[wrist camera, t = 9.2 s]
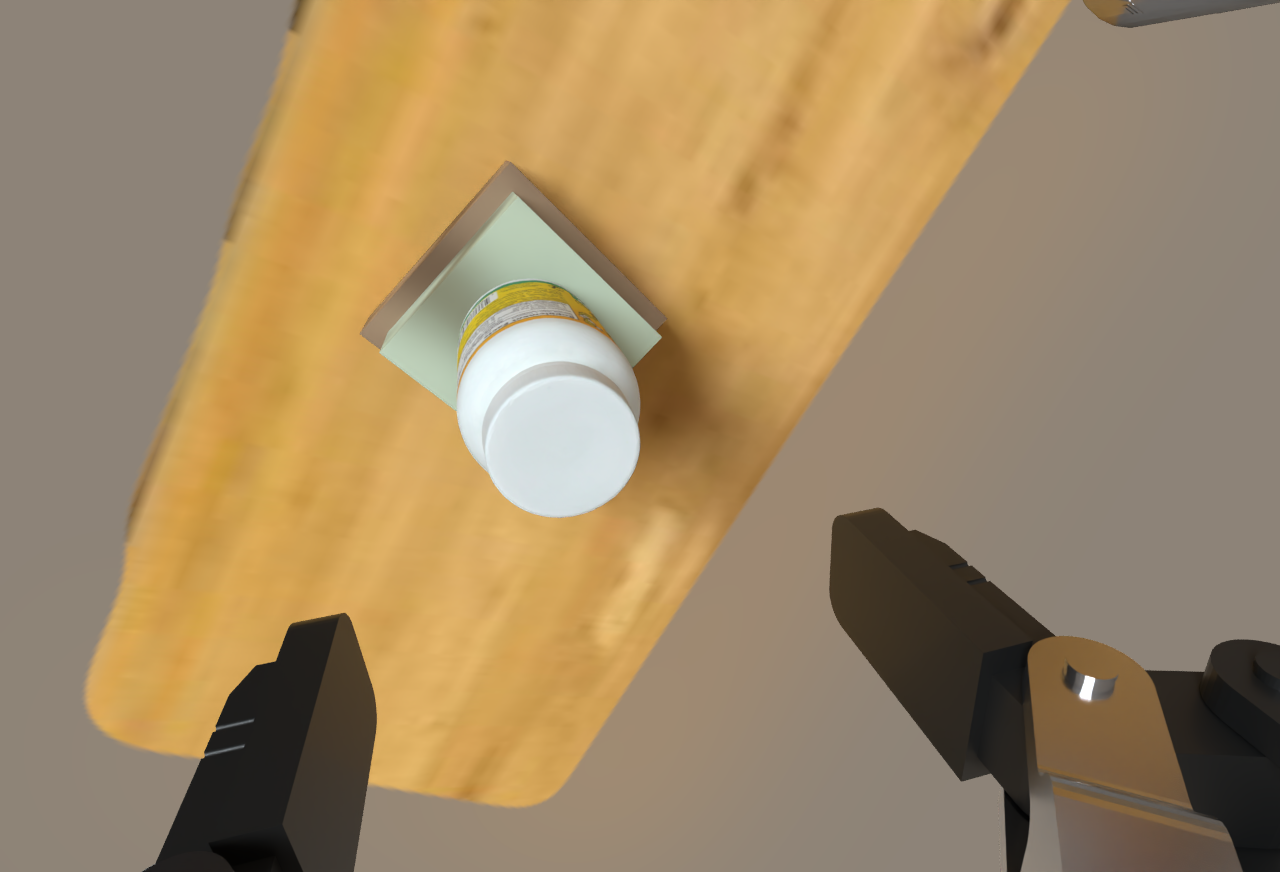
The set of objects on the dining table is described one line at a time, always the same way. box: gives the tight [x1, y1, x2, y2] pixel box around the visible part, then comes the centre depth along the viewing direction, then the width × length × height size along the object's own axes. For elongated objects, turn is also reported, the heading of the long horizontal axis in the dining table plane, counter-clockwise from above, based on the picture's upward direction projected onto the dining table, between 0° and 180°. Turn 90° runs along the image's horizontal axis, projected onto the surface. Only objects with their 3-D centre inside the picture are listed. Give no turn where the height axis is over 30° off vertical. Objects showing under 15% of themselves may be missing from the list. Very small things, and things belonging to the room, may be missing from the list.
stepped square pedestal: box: [360, 161, 667, 411], centre depth 28 cm, size 9×9×6 cm
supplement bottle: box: [457, 278, 640, 518], centre depth 21 cm, size 5×5×10 cm
